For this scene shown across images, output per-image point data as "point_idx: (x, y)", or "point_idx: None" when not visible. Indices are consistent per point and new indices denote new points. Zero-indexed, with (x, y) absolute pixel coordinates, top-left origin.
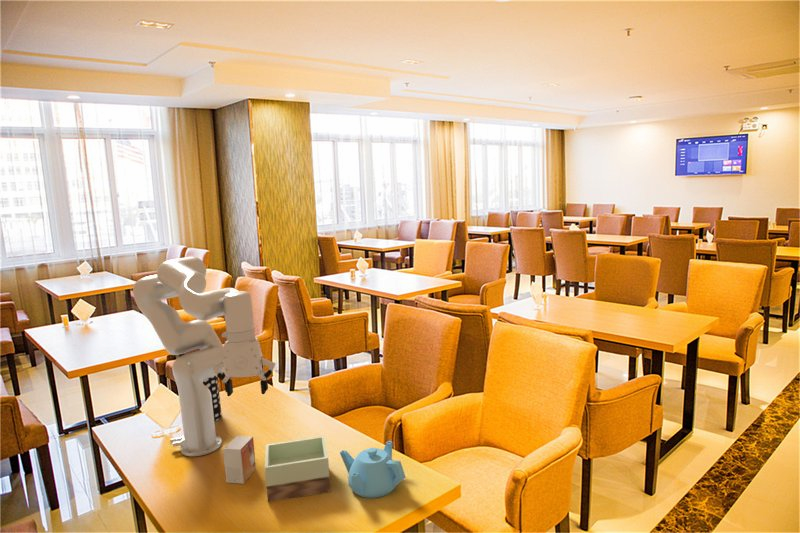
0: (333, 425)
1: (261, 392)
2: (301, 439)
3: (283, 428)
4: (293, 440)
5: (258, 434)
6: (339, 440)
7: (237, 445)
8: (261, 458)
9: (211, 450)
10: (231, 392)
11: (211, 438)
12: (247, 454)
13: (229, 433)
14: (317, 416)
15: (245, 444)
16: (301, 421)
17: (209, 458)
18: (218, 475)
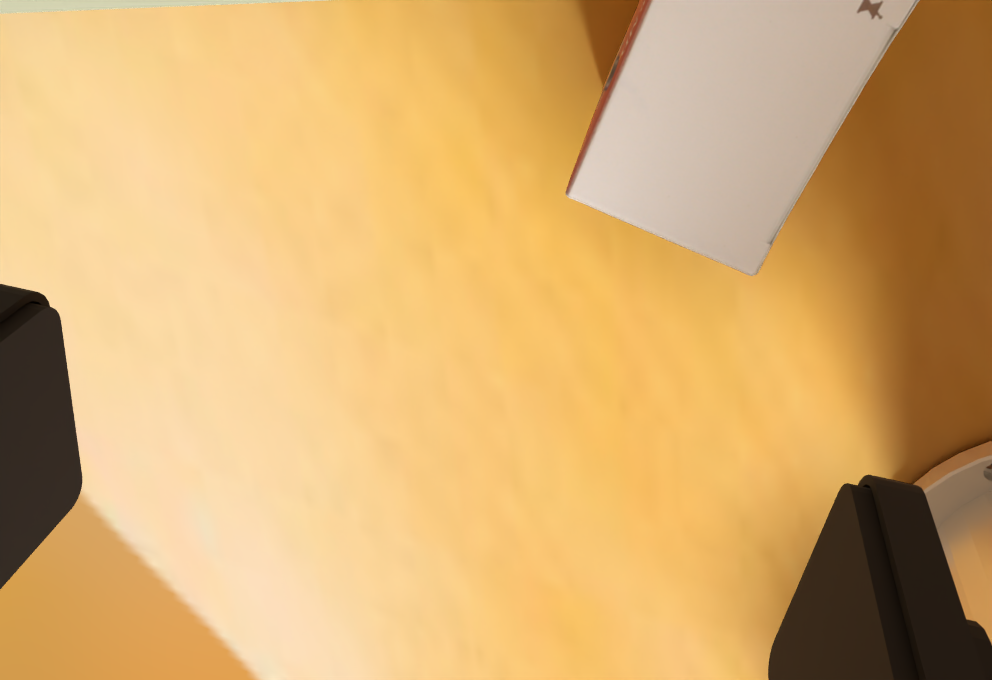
0: (131, 511)
1: (26, 316)
2: (52, 7)
3: (447, 585)
4: (129, 7)
5: (611, 571)
6: None
7: (737, 19)
8: (571, 249)
9: (966, 459)
10: (807, 603)
11: (974, 553)
12: (637, 8)
13: None
14: (250, 641)
15: (640, 23)
16: (341, 622)
17: (985, 375)
18: (925, 84)
